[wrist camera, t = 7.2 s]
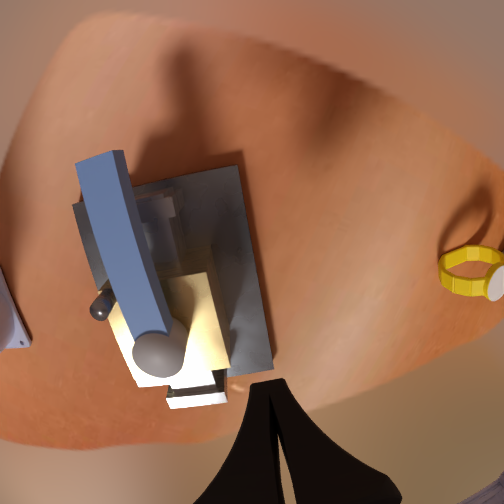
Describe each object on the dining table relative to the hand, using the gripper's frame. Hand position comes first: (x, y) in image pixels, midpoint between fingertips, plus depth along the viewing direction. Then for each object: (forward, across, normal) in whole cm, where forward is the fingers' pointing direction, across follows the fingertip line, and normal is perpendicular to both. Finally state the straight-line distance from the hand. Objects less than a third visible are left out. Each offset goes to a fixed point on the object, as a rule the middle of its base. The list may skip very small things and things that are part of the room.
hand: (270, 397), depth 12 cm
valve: (+10, +5, -1) cm, 12 cm away
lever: (+5, +5, -5) cm, 9 cm away
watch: (+11, -17, +1) cm, 20 cm away
